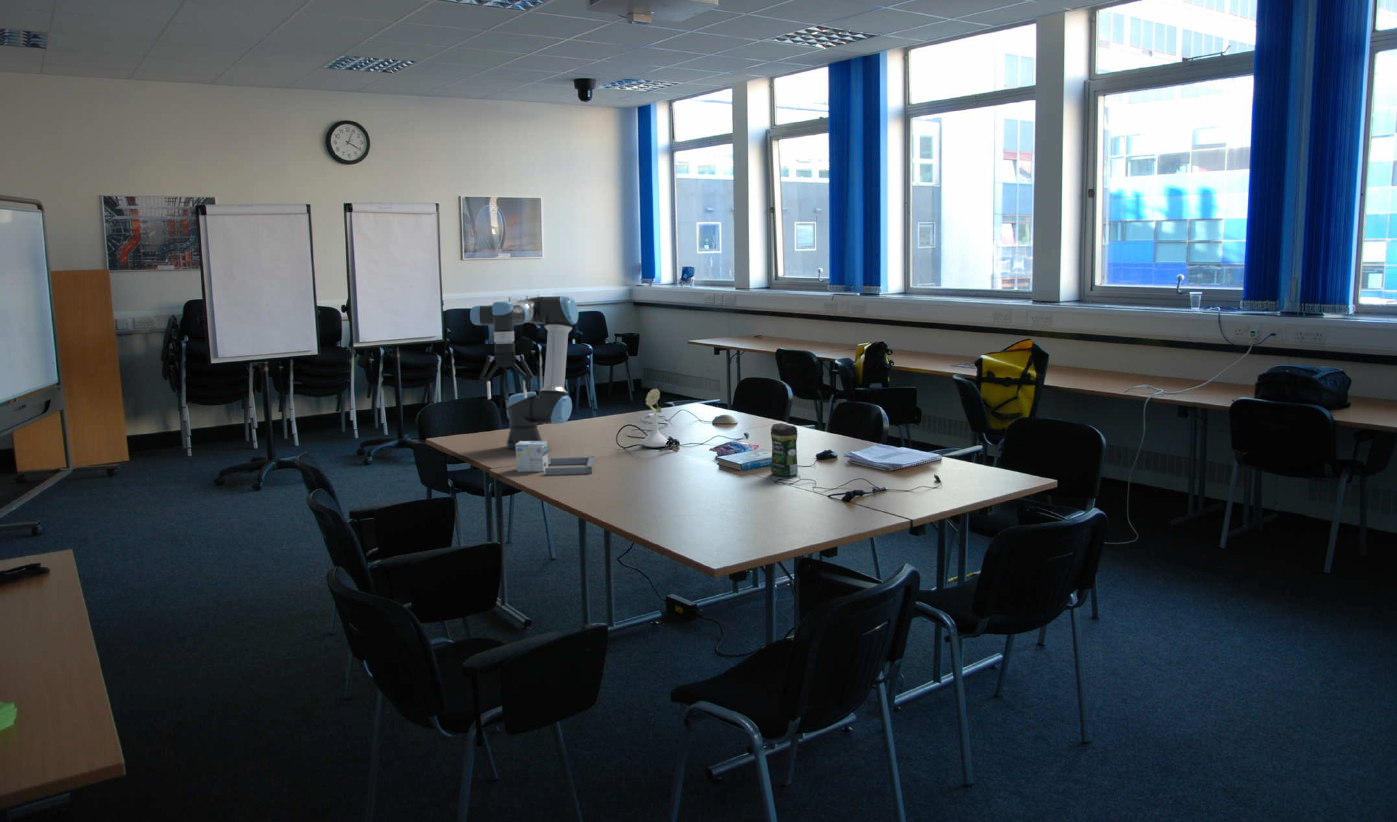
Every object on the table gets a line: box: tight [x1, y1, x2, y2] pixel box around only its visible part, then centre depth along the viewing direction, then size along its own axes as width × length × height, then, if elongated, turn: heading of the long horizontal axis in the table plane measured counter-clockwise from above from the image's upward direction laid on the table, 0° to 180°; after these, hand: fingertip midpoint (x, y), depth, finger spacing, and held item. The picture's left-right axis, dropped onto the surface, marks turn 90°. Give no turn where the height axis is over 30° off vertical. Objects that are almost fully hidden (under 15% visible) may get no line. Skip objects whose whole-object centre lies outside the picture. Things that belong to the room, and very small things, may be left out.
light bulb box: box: [515, 440, 549, 473], centre depth 367 cm, size 11×7×11 cm, turn 84°
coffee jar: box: [770, 422, 799, 478], centre depth 349 cm, size 10×8×19 cm
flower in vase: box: [641, 388, 669, 448], centre depth 405 cm, size 13×11×25 cm
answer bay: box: [544, 455, 596, 476], centre depth 368 cm, size 20×17×2 cm
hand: (507, 398), depth 370 cm, fingers open, 13 cm apart
